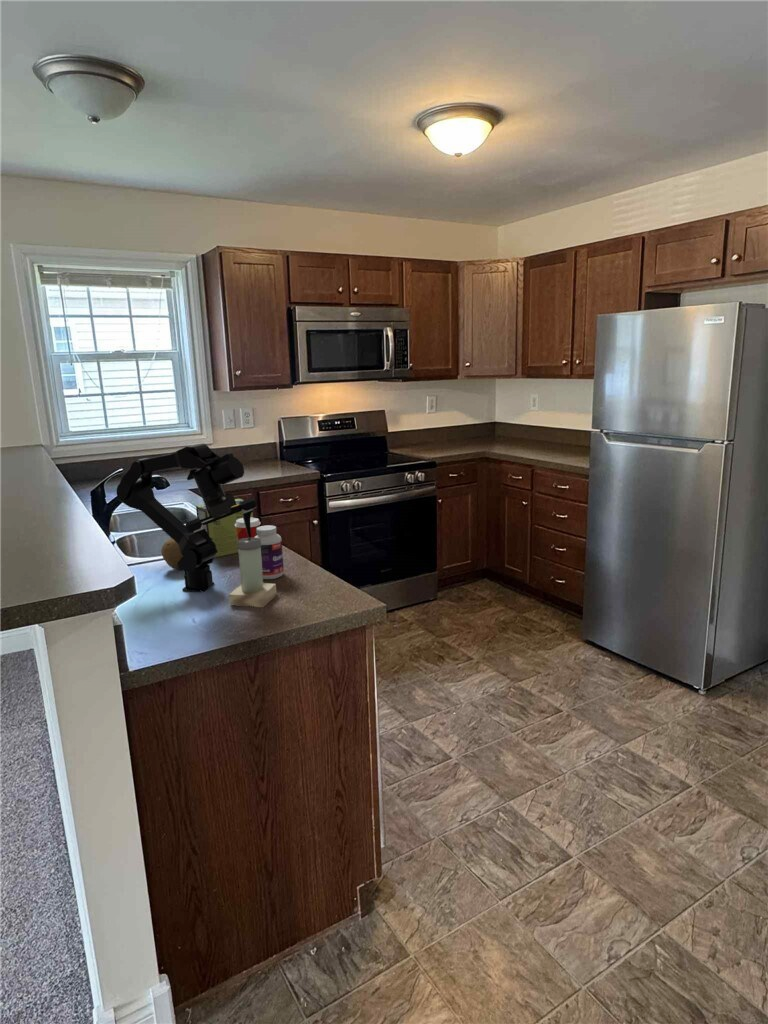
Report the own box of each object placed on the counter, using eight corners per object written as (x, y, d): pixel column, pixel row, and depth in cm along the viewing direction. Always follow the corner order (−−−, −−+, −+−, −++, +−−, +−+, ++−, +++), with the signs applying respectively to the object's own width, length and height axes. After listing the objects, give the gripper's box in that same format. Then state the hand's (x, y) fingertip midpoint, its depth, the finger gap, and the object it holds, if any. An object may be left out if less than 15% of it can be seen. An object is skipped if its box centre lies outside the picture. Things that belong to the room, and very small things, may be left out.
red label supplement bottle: (251, 558, 197) (248, 515, 194) (269, 562, 193) (265, 518, 189) (232, 565, 191) (228, 521, 187) (249, 570, 186) (246, 524, 183)
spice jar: (238, 593, 160) (234, 544, 157) (244, 584, 166) (240, 537, 162) (261, 593, 160) (258, 544, 156) (266, 584, 165) (263, 537, 162)
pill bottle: (278, 581, 176) (274, 532, 173) (251, 580, 178) (247, 531, 174) (288, 571, 184) (284, 524, 181) (262, 570, 186) (258, 523, 182)
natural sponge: (171, 563, 194) (168, 532, 192) (199, 564, 193) (196, 532, 191) (158, 573, 186) (154, 541, 183) (187, 574, 185) (184, 541, 182)
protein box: (256, 549, 207) (252, 503, 203) (211, 558, 199) (206, 511, 195) (243, 542, 215) (239, 498, 212) (199, 550, 207) (194, 505, 203)
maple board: (230, 605, 160) (229, 594, 159) (245, 592, 169) (244, 582, 168) (262, 607, 158) (262, 596, 157) (276, 594, 167) (275, 583, 166)
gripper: (174, 501, 153) (199, 560, 154) (247, 475, 158) (270, 532, 159) (176, 504, 164) (199, 559, 165) (244, 478, 169) (266, 532, 170)
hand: (233, 545), depth 165 cm, fingers open, 9 cm apart
